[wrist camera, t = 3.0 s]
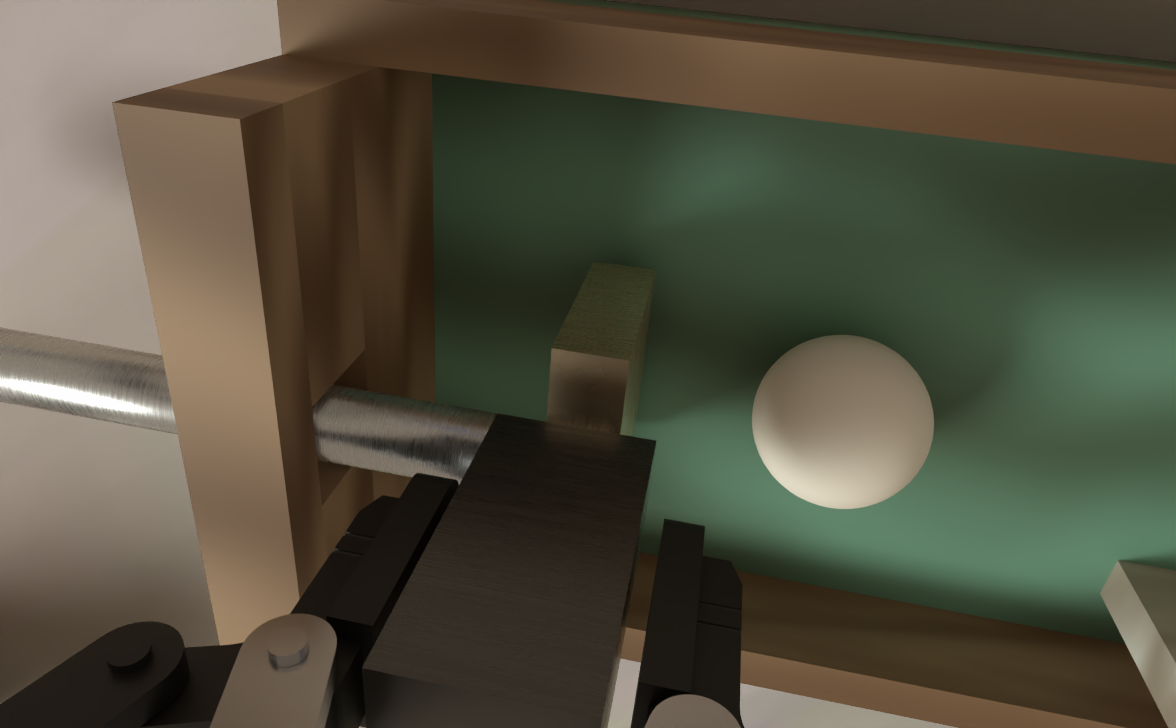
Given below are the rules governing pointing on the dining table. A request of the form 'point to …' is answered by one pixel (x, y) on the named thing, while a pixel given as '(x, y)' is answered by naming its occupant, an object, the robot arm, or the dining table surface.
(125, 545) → the dining table surface
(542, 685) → the kicker rod
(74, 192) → the dining table surface
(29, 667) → the dining table surface
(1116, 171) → the foosball field
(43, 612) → the dining table surface
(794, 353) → the ball
